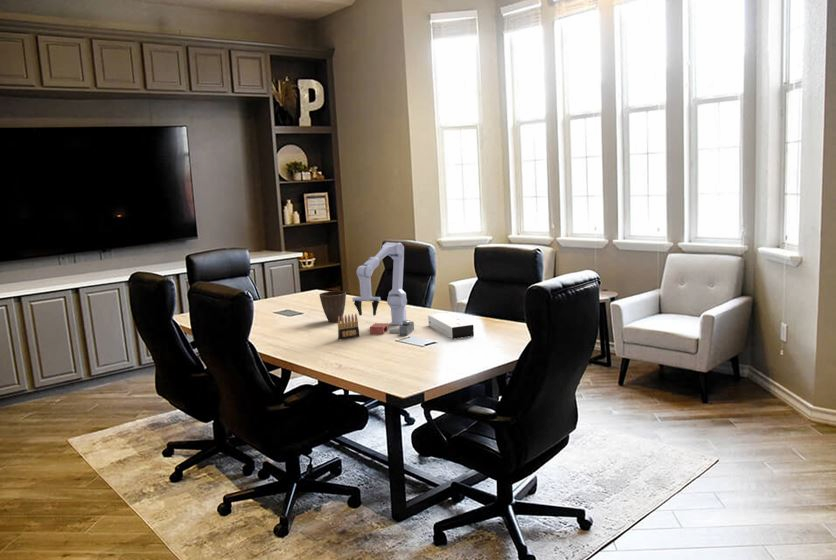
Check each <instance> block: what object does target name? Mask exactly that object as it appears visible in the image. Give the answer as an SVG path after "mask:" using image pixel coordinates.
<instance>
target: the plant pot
mask: <svg viewBox="0 0 836 560" xmlns="http://www.w3.org/2000/svg"><path fill="white" fill-rule="evenodd" d="M319 300H320V303H321V306H322V309H323V312H324V316H325V317H326V319H327V321H328V322H329V323H338V316H339V317H340V322H341V317H342V316H343V317H344V312H345V307H346V301H347V291H344V290H333V291H331V290H330V291H325V292H322V293H319Z"/></svg>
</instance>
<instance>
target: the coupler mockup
mask: <svg viewBox="0 0 836 560" xmlns="http://www.w3.org/2000/svg"><path fill="white" fill-rule="evenodd" d="M402 322H403V324H402V325H399V327H398V328H395V327H394V328H393V327H392V328H388V331H389V333H390V334H399V336H403V337H404V336H409V335H410V334H411V333H413V331H414V330H415V323H414V321H411V320H408V319H406V320H405V321H402Z"/></svg>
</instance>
